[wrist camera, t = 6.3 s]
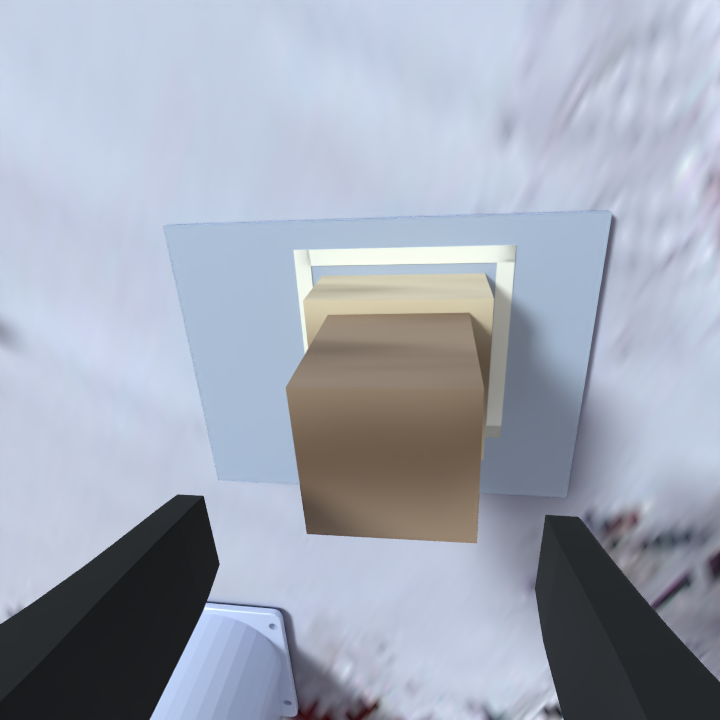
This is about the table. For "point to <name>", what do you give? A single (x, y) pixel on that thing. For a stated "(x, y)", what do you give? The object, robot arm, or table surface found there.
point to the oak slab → (408, 305)
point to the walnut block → (390, 427)
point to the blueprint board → (393, 257)
